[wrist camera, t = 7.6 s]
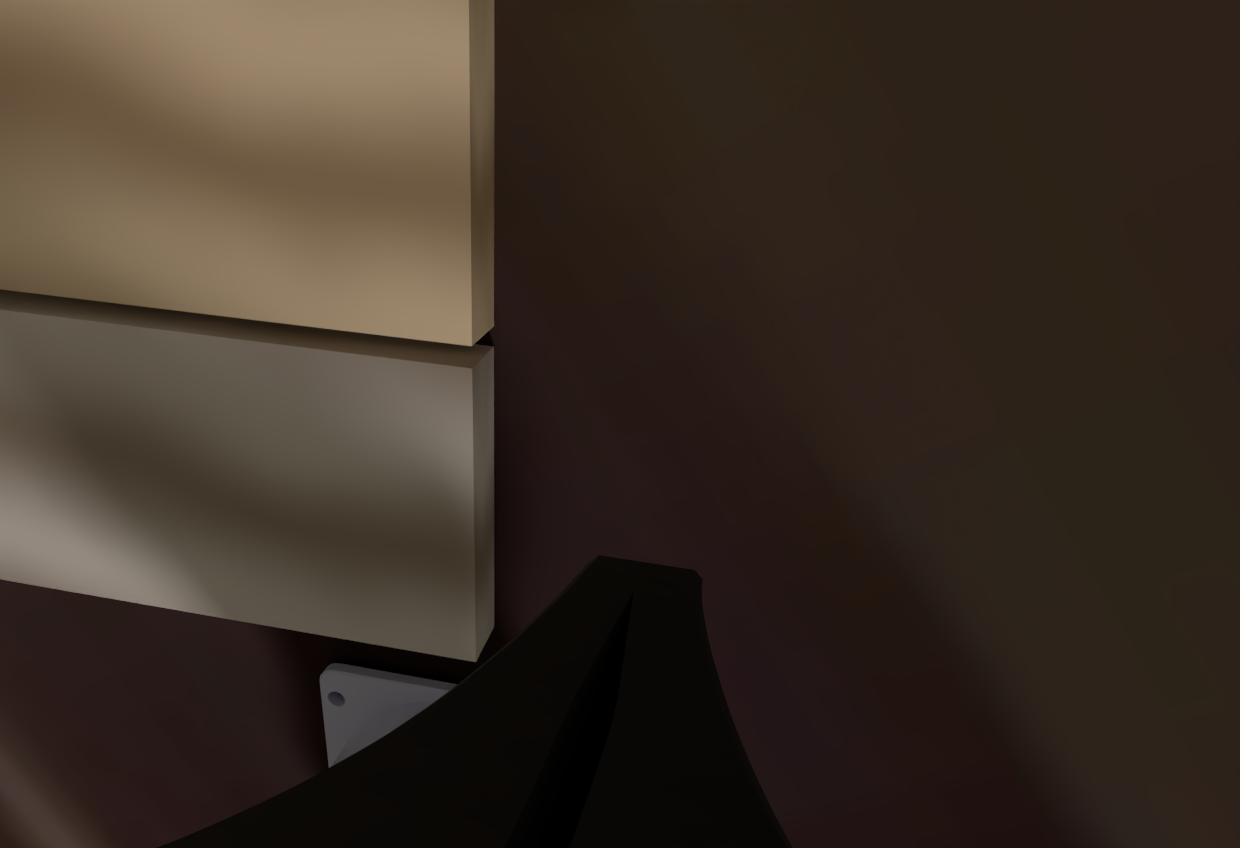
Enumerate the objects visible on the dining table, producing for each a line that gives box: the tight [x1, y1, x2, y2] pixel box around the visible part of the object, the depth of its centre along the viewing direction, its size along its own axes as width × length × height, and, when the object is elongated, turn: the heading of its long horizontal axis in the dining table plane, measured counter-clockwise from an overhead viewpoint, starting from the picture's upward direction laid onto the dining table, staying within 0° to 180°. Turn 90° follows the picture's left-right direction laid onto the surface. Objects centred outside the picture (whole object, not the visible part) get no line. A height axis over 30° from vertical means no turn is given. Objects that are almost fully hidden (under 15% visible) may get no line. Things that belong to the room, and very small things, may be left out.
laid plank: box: [0, 289, 494, 662], centre depth 23 cm, size 8×22×2 cm, turn 87°
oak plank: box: [0, 0, 494, 346], centre depth 19 cm, size 8×22×2 cm, turn 87°
